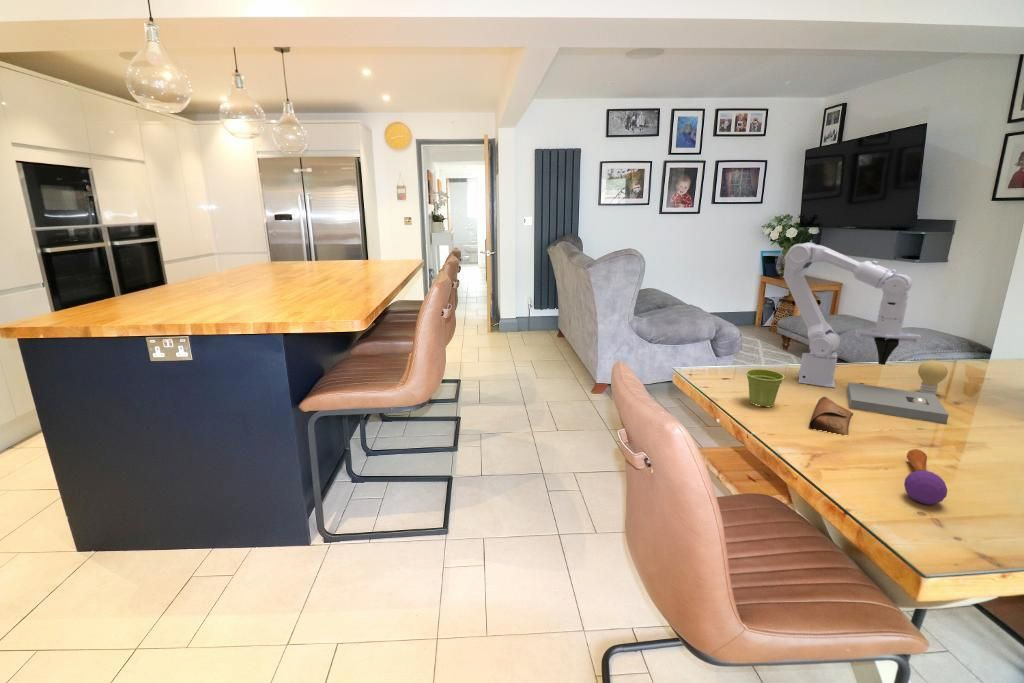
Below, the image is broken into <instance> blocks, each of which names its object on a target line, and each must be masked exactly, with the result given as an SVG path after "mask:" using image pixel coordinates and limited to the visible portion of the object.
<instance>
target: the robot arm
mask: <svg viewBox="0 0 1024 683" xmlns="http://www.w3.org/2000/svg"><path fill="white" fill-rule="evenodd" d="M821 262H822V263H823V262H824V263H827V264H830V265H833V266H835V267H838V268H840V269H843V270H846V271H847V272H851V273H852V274H853V276H854V279H855V280H857V281H859V282H862V283H864V284H865V285H866V284H867V285H868V286H871V287H874V288H875V289H878V290H879V289H881V291H882V297H881V301H880V305H879V311H878V315H877V320H876V326H875V329H859V328H855V334H854V335H855V337H856V338H868V339H869V338H870V339H873V340H874V344H875V346H876V350H877V356H878V362H877V363H878V365H881V366H882V365H883V366H885V365H886V363H887V361H888V359H889V357H890V356H891V354H892V353H893V352H894V351H895V350H896V348H897V347H898V346H899V344H900V342H909V343H910V342H912V343H914V344H915V343H917V344H920V343H921V340H922V339H921V338H922V336H921V334H913V333H908V332H907V333H906V332H902V330H903V324H904V318H905V314H906V310H907V306H908V305H907V304H908V301H907V300H908V297H909V296H908V295H909V291H910V290H911V288H912V287H913V280H912V278H911V277H910V276H909V275H907V274H906V273H905V272H897V269H894V268H893V269H889V268H886V267H885V266H882V265H879V261H876V260H873V261H870V260H865V261H862V262H860V261H858V260H855V259H854V258H851V257H850V256H847V255H845V254H843V253H840V252H838V251H836V250H834V249H831V248H829V247H827V246H824V245H822V244H821V245H820V244H816V243H815V242H811V241H810V242H804V243H796V244H793V245H792V246H791V247H790V248H789V249H788V251H787V252H786V254H785V256H784V263H785V264H784V271H783V279H784V282H785V284H786V285H787V288H788V289H789V292H790V294H791V296H792V298H793V300H794V302H795V305H796V307H797V309H798V311H799V313H800V315H801V317H802V320H803V322H804V324H805V325H806V328H807V338H808V340H809V344H808V345H809V346H808V347H809V352H803V353H802V355H801V361H800V368H799V369H798V373H797V375H798V383H800V384H806V385H812V386H820V387H827V388H833V389H834V388H836V386H835V372H836V366H837V360H838V356H839V355H838V352H837V350H838V349H839V348H840V347H841V345H842V339H841V336H840V335H839V334H838V333H836V332H835V330H833V327H832V326H831V325H830V324H829V323H828V322H827V321H826V319H825V317H824V315H823V313H822V310H821V308H820V306H819V304H818V302H817V301H816V298H815V296H814V294H813V292H812V290H811V287H810V285H809V284H808V281H807V279H806V277H805V275H806V273H807V271H808V269H809V267H810V266H811V265H812V264H813V263H821Z"/></svg>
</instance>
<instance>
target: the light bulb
mask: <svg viewBox="0 0 1024 683" xmlns="http://www.w3.org/2000/svg"><path fill="white" fill-rule="evenodd" d="M917 373H918V376H919V378H920V379H921V381H922V382H921V383H920V389H919V392H921V393H928V394H935V395H937V391H938V388H939V384H940V383H941V382H943V381H944V380H945V379H946V378H947V376H948V367H947V366H946V365H945V364H944V363H942V362H940V361H937V360H927V361H922V363H921V364H919V366H918V370H917Z"/></svg>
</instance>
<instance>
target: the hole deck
mask: <svg viewBox="0 0 1024 683" xmlns="http://www.w3.org/2000/svg"><path fill="white" fill-rule="evenodd" d="M846 394H847V399H848V403H849V404H848V405H849V409H852V410H858V411H864V412H869V411H870V413H875V412H876V413H877V414H881V413H882V414H883V415H889V416H894V417H900V418H908V419H912V420H913V419H915V420H920V421H926V422H931V423H932V422H933V423H940V424H943V425H944V424H945V425H947V423H948V421H949V420H948V419H949V413H948V412H947V410H946V409H945V407H944V405H943V404H942V403H941V401H940V400H939V398H938V396H937V394H928V393H921V392H920V391H914V390H906V389H905V390H904V389H898V388H891V387H890V388H889V387H883V386H877V385H870V384H869V385H868V384H863V383H855V382H847V386H846ZM917 397H920V398H923V399H925V400H926V401H927V404H920V403H913V402H912V400H913V399H914V398H917Z"/></svg>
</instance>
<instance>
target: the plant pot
mask: <svg viewBox="0 0 1024 683" xmlns="http://www.w3.org/2000/svg"><path fill="white" fill-rule="evenodd" d="M745 374H746V376H747V377H746V378H747V380H748V396H749V398H748V400H750V401H749V403H750V402H752V403H754V404H757V405H760V407H764V406H772V405H773V406H774V405H775V402H776V399H777V395H778V392H779V389H780V385H781V384H782V382H783V381H784V379H785V375H784V374H782V373H781V372H779V371H775V370H772V369H771V370H770V369H762V368H752V369H748V370H747V371H745ZM773 406H772V407H773Z"/></svg>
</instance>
